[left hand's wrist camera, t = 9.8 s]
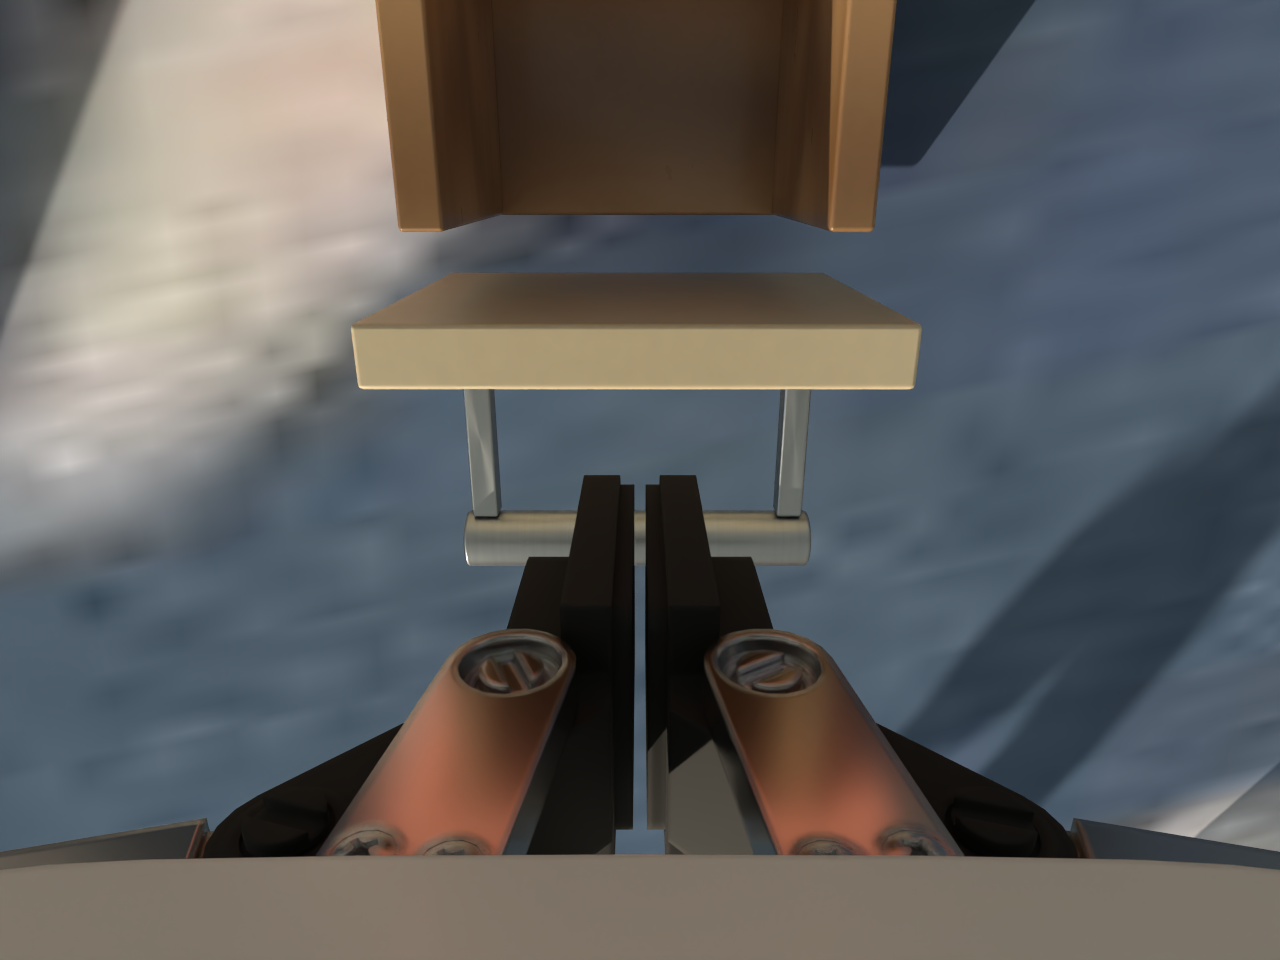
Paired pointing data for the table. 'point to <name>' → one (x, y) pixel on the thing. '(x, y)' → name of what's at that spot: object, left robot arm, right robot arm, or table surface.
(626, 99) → the drawer
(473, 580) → the table surface
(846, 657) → the table surface
